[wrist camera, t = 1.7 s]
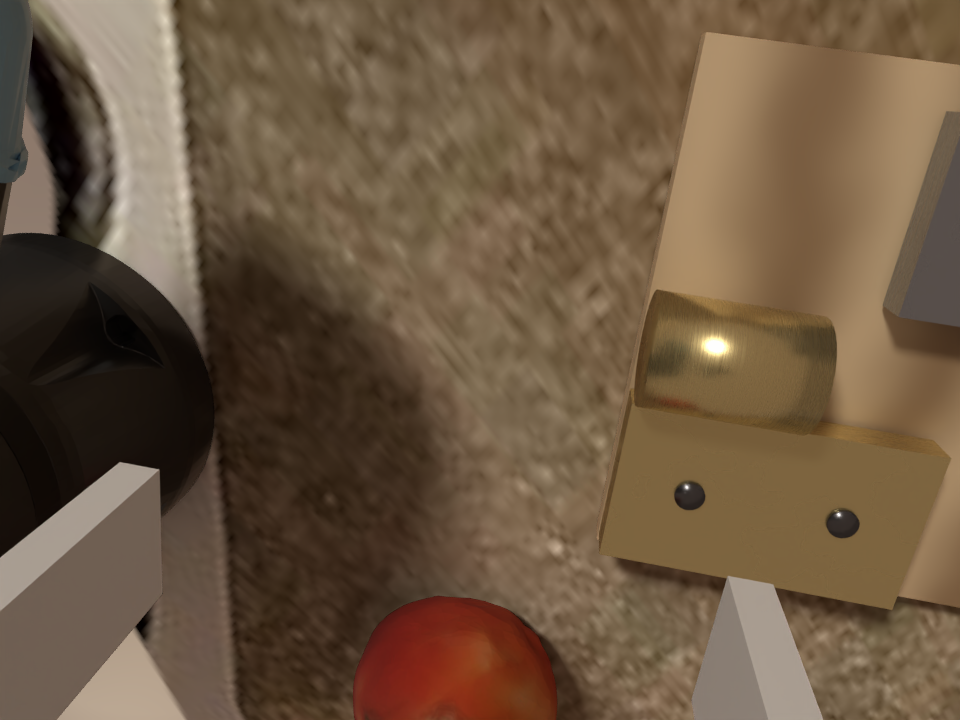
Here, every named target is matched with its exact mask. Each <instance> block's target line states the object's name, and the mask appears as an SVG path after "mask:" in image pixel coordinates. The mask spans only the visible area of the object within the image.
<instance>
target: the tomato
mask: <svg viewBox="0 0 960 720" xmlns="http://www.w3.org/2000/svg"><path fill="white" fill-rule="evenodd" d="M353 707H354V718H355V720H556V715H557V691H556V684H555V678H554V675H553V672H552V668H551V663H550V660H549V658H548V655H547V654H546V652H545V650H544V648H543V646H542V645H541V642H540V639H539V637H538V636H537V635H536V633H534V632H533V631H532V630H531V629H530V628H528V627H526V626H524V625H523V623H522V622H521V621H520V619H519V618H518V617H516V616H515V615H514V614H513V613H512V612H510V611H509V610H507V609H505V608H503V607H501V606H498V605H494V604H491V603H488V602H486V601H481V600H476V599H472V598H455V597H444V596H434V597H430V598H426V599H422V600H418V601H415V602H411V603H409V604H406V605H403V606H402V607H400V608H398V609H397V610H395V611H393V612H392V613H391V614H389V615H388V616H387V617H385V618H384V619H383V620H382V621H381V622H380V623H379V624H378V626H377V627H376V628H375V630H374V631H373V633H372V635H371V637H370V639H369V642H368V644H367V646H366V648H365V650H364V653H363V655H362V658H361V660H360V662H359V665H358V667H357V670H356V674H355V679H354V685H353Z"/></svg>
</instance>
